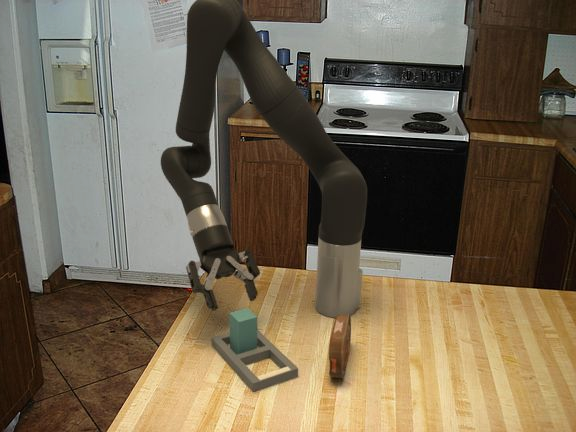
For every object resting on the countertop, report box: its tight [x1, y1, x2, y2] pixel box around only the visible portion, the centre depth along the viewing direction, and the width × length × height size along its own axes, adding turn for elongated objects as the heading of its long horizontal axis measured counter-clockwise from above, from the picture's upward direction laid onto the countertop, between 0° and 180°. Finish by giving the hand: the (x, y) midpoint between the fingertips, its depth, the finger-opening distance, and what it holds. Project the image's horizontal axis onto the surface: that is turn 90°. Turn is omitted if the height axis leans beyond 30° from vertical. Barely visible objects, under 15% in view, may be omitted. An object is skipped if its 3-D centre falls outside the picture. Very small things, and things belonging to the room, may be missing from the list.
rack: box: [210, 328, 299, 393], centre depth 122 cm, size 10×18×2 cm, turn 31°
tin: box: [328, 315, 352, 380], centre depth 121 cm, size 15×3×8 cm, turn 168°
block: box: [229, 307, 258, 355], centre depth 124 cm, size 4×4×8 cm
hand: (234, 304), depth 126 cm, fingers open, 8 cm apart
